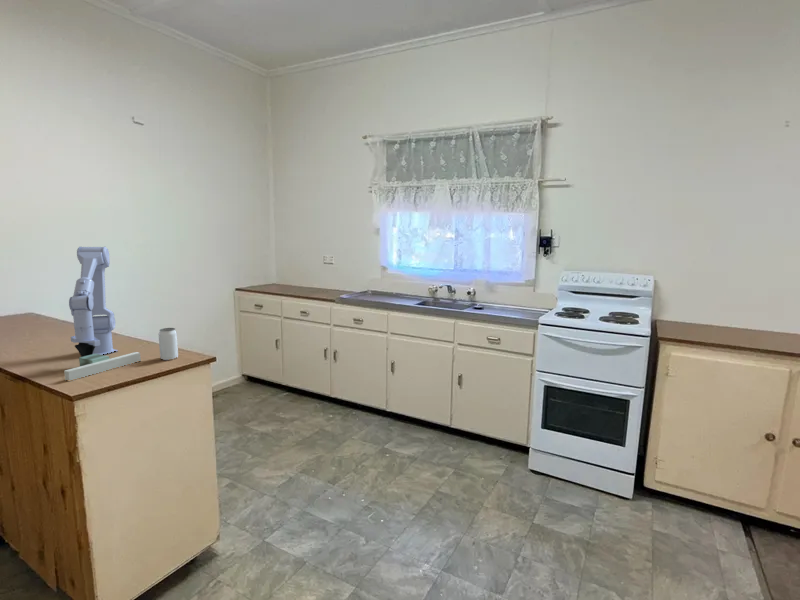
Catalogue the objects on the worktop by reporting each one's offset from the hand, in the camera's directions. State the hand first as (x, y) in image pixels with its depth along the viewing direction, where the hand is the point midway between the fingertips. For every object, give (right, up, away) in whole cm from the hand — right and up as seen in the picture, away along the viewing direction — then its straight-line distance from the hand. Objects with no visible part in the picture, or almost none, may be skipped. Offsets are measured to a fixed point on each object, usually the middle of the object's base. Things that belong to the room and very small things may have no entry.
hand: (87, 362), depth 168 cm
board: (+10, -2, -4) cm, 11 cm away
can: (+25, 0, +12) cm, 28 cm away
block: (+5, -2, -2) cm, 6 cm away
